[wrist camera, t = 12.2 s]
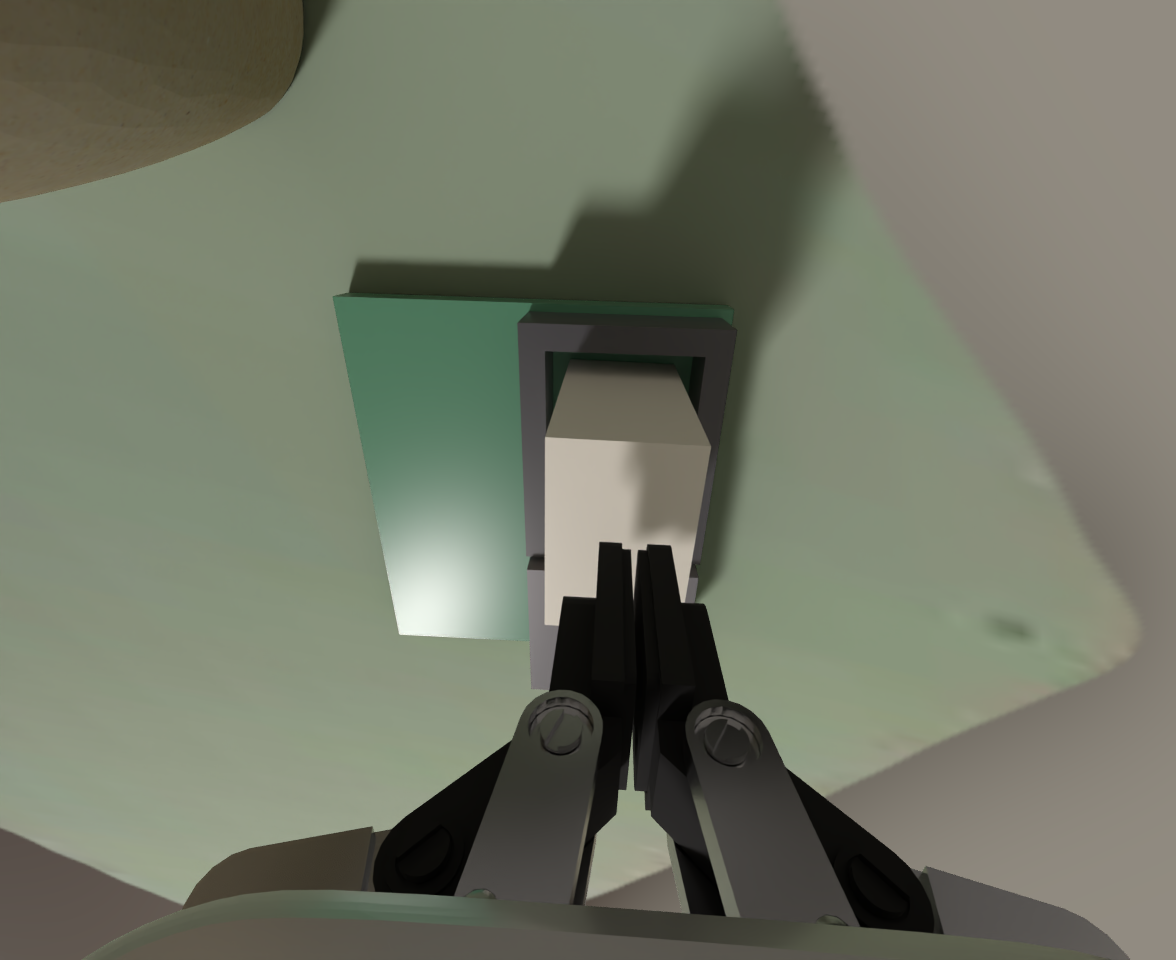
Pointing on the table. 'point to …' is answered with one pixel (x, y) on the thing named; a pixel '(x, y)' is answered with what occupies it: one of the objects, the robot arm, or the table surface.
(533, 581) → the grey square block
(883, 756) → the table surface
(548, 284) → the table surface
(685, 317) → the board
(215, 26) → the plant pot
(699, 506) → the plug
